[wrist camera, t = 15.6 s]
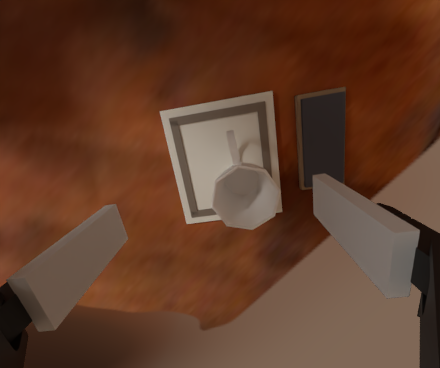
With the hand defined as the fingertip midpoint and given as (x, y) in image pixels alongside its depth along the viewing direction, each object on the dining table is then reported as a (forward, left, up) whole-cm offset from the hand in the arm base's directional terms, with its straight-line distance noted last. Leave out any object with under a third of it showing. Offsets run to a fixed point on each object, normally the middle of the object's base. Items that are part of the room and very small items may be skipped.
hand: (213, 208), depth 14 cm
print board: (0, 0, -15) cm, 15 cm away
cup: (+1, +2, -15) cm, 15 cm away
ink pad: (-1, +13, -15) cm, 20 cm away
